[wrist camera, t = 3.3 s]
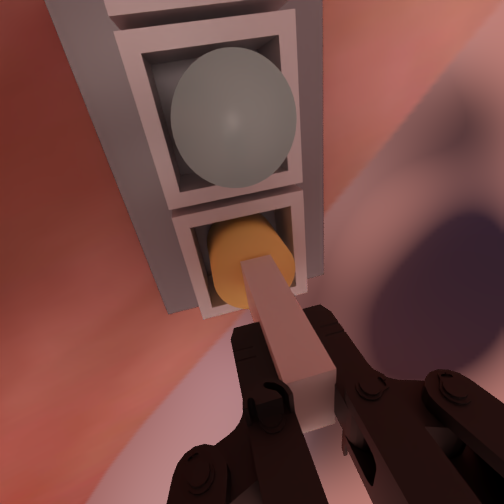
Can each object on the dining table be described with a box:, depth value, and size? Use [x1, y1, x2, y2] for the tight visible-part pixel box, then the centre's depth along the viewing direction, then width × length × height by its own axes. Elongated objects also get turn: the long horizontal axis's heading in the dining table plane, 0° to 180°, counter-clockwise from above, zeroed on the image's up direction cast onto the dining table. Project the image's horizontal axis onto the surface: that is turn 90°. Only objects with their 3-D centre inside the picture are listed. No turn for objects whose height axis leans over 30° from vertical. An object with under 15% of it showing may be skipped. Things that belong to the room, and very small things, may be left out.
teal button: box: [171, 47, 297, 188], centre depth 11 cm, size 4×4×4 cm
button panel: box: [44, 0, 324, 320], centre depth 13 cm, size 24×12×4 cm, turn 8°
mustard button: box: [207, 213, 295, 309], centre depth 15 cm, size 4×4×4 cm
